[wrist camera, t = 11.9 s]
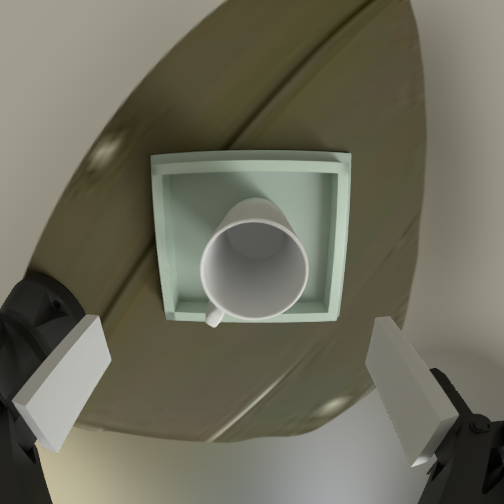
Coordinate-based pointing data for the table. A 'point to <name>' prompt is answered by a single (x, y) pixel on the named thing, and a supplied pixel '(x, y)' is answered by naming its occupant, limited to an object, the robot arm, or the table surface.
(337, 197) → the tray
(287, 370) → the table surface
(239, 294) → the mug
